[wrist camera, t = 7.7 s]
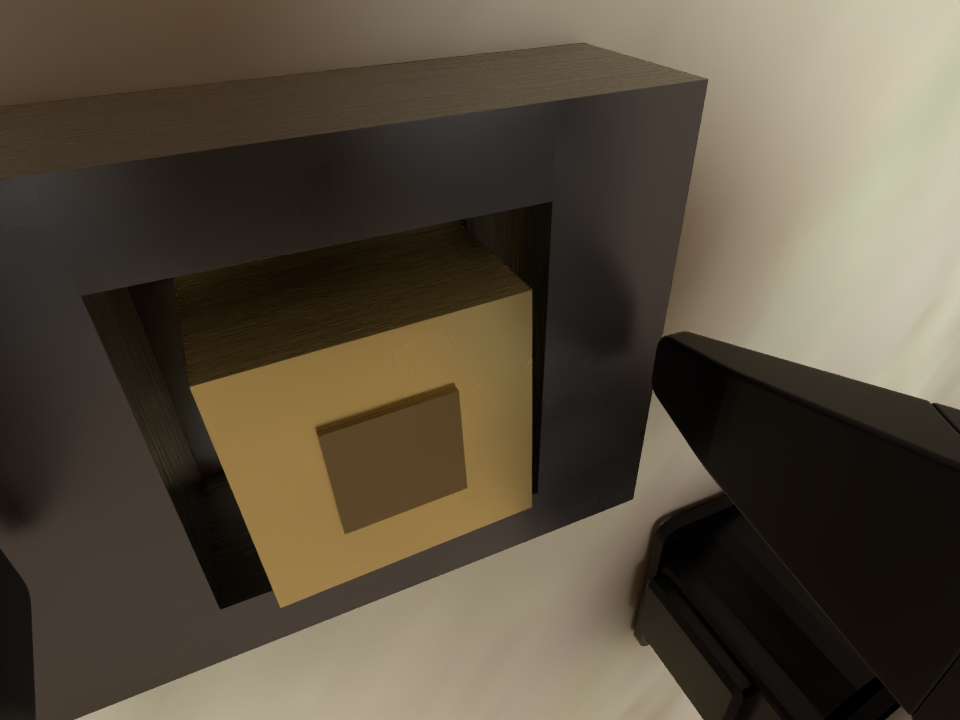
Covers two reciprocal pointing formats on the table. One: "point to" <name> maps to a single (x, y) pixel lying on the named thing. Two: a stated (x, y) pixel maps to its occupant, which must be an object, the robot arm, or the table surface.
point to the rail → (286, 230)
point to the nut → (364, 398)
